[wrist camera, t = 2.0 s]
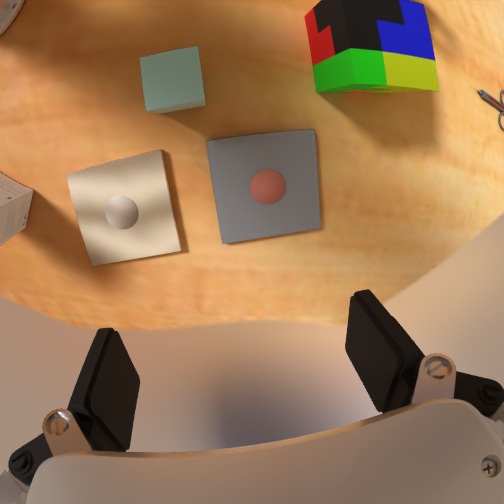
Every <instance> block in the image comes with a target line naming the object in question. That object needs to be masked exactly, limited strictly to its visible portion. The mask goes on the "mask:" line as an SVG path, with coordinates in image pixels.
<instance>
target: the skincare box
mask: <svg viewBox="0 0 504 504" xmlns="http://www.w3.org/2000/svg"><path fill="white" fill-rule="evenodd" d="M33 192H34V191H33V189H30V188H28V187H25V186H23V185H21V184H19V183H18V182H16V181H14V180H12V179H10V178H9V177H7V176H6V175H4V174H2V173H1V172H0V246H1V245H2V244H4V243H5V242H6V241H8V240H9V239H10V238H12V237H13V236H14V235H16V234H17V233H19V232H20V231H21V230H23V229H24V228H25V227H26V223H27V217H28V213H29V208H30V205H31V200H32V196H33Z"/></svg>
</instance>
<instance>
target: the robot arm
mask: <svg viewBox="0 0 504 504" xmlns="http://www.w3.org/2000/svg"><path fill="white" fill-rule="evenodd" d="M23 3H24V0H0V35H1V34H2V33H3V32H4V31H5V30H6V29H7V28H8V27H9V25H10V24H11V23H12V21H13V20H14V19H15V17H16V16H17V14H18V12H19V11H20V9H21V7H22V5H23ZM345 349H346V352H347V355H348V357H349V358H350V360H351V362H352V364H353V366H354V368H355V370H356V371H357V373H358V375H359V377H360V379H361V381H362V382H363V385H364V386H365V388H366V390H367V392H368V394H369V396H370V398H371V400H372V402H373V404H374V406H375V407H376V409H377V411H378V412H382V413H383V414H380V415H378V416H374V417H371V418H368V419H365V420H361V421H358V422H355V423H351V424H348V425H345V426H341V427H337V428H334V429H330V430H326V431H323V432H318V433H314V434H310V435H305V436H301V437H296V438H291V439H286V440H281V441H276V442H270V443H264V444H258V445H251V446H244V447H236V448H227V449H217V450H205V451H191V452H156V453H155V452H126V450H128V449H129V448H130V442H131V435H132V428H133V421H134V415H135V409H136V403H137V398H138V392H139V386H140V378H139V375H138V373H137V371H136V369H135V368H134V365H133V363H132V361H131V359H130V357H129V355H128V353H127V350H126V348H125V346H124V344H123V342H122V340H121V337H120V335H119V333H118V331H114V329H113V328H100V329H98V331H97V333H96V336H95V338H94V340H93V343H92V345H91V347H90V350H89V352H88V355H87V357H86V360H85V362H84V365H83V367H82V370H81V372H80V375H79V377H78V380H77V383H76V385H75V388H74V391H73V394H72V396H71V399H70V402H69V405H68V408H67V410H66V409H62V408H61V409H56V410H53V411H51V412H50V413H49V414H48V415H47V416H46V417H45V419H44V421H43V425H42V429H43V433H42V434H41V435H39V436H38V437H36V438H35V439H33V440H32V441H30V442H28V443H27V444H25V445H24V446H22V447H21V448H19V449H17V450H16V451H15V452H14V453H13V454H12V455H11V457H10V459H9V471H8V472H7V471H6V470H5V471H4V472H3V473H2V474H1V475H0V504H504V389H503V387H502V386H501V385H500V384H499V383H498V382H496V381H494V380H491V379H487V378H483V377H478V376H474V375H470V374H465V373H462V372H457V371H456V366H455V364H454V362H453V361H452V360H451V359H450V358H449V357H447V356H446V355H443V354H436V353H434V354H429V355H427V356H425V355H424V354H423V353H422V351H421V350H420V349H419V348H418V346H417V345H416V344H415V342H414V341H413V340H412V339H411V338H410V336H409V335H408V334H407V333H406V331H405V330H404V329H403V328H402V326H401V325H400V324H399V323H398V322H397V320H396V319H395V318H394V317H393V316H391V315H390V314H389V312H388V311H387V310H386V309H385V308H384V307H383V305H382V304H381V303H380V302H379V300H378V299H377V298H376V297H375V296H374V294H373V293H372V292H371V291H370V290H369V289H367V290H362V291H357V292H355V293H354V296H352V297H351V298H350V307H349V317H348V327H347V335H346V343H345Z"/></svg>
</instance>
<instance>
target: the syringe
mask: <svg viewBox="0 0 504 504" xmlns="http://www.w3.org/2000/svg"><path fill="white" fill-rule="evenodd" d="M474 89H475V88H474ZM477 91H478V93H480V97H482V98H483V99H485V100H486V101H488V102H489V103H490V104H492V105H493V106H495V107H496V108H497V109H499V110H500V111H502V112H501V113H500V114H499V125H500V127H501V129H502V130H504V128H503V127H502V125H501V115H502V113H504V103H503V100H502V93H503V91H504V90H502V91H501V92H500V101H501V103H502V104H501V103H500V102H499V101H497V100H496V99H495V98H493V97H492V96H491V95H489V94H488V93H486V92H485V91H483V90H480V91H479V90H477Z"/></svg>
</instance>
